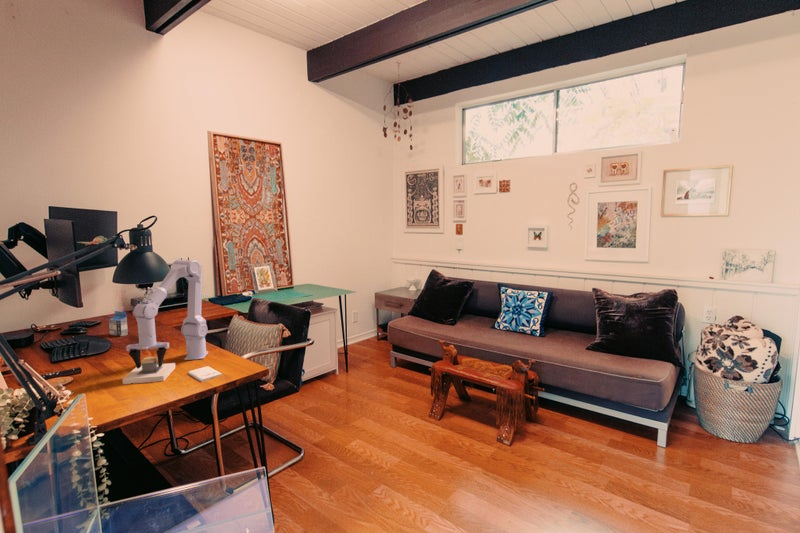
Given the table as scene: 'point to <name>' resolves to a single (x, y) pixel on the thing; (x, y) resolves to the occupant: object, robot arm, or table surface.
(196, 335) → the robot arm
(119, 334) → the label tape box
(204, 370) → the external hard drive
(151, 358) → the plug
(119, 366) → the table surface
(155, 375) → the socket
